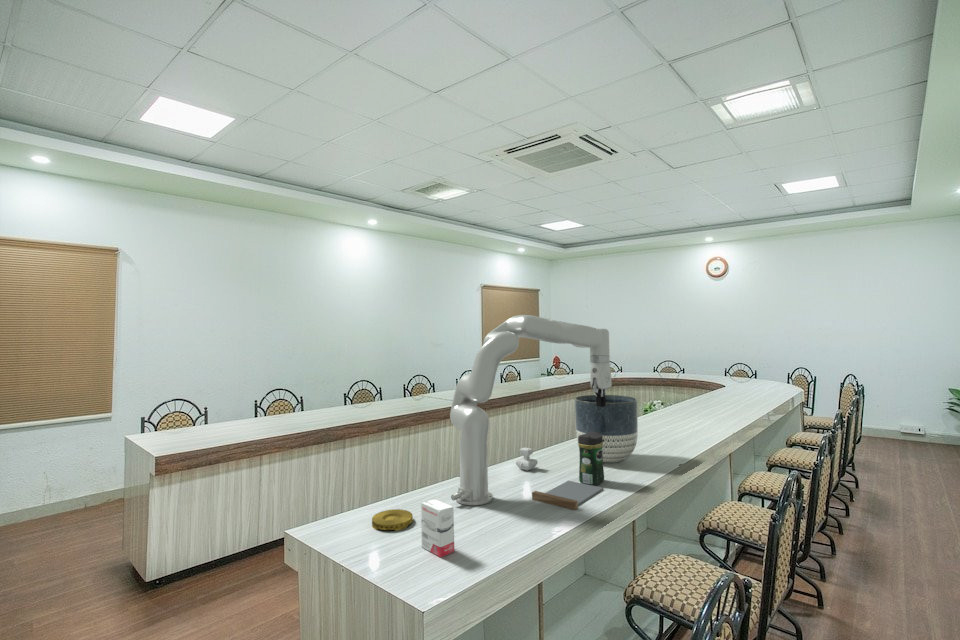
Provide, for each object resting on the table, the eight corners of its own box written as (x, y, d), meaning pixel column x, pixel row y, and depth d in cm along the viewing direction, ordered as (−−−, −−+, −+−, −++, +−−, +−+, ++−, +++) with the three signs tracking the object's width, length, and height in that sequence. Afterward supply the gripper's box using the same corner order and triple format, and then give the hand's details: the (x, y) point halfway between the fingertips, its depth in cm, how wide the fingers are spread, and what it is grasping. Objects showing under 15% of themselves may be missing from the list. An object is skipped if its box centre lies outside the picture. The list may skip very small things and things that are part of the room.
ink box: (455, 551, 120) (454, 505, 121) (440, 558, 117) (439, 511, 117) (435, 541, 126) (434, 497, 127) (420, 547, 123) (419, 502, 123)
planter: (564, 460, 205) (562, 399, 205) (598, 449, 223) (596, 393, 223) (617, 472, 185) (615, 405, 186) (650, 459, 203) (648, 398, 204)
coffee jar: (588, 477, 180) (587, 429, 181) (607, 481, 175) (606, 431, 175) (575, 483, 173) (574, 433, 174) (594, 487, 168) (593, 436, 168)
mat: (575, 507, 149) (575, 505, 149) (538, 498, 158) (538, 496, 158) (603, 489, 166) (603, 487, 166) (568, 482, 174) (568, 480, 174)
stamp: (527, 473, 187) (526, 452, 187) (513, 470, 191) (513, 449, 191) (539, 468, 193) (539, 447, 194) (526, 465, 198) (526, 445, 198)
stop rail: (574, 510, 147) (574, 502, 147) (532, 499, 157) (532, 492, 157) (577, 508, 148) (577, 500, 148) (535, 497, 158) (535, 490, 158)
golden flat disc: (381, 515, 146) (381, 508, 146) (417, 517, 144) (417, 510, 144) (365, 531, 134) (365, 523, 134) (405, 533, 132) (404, 526, 132)
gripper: (600, 361, 175) (601, 409, 174) (616, 359, 186) (617, 404, 186) (582, 360, 180) (583, 408, 179) (599, 358, 191) (600, 403, 191)
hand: (601, 406), depth 182 cm, fingers closed
